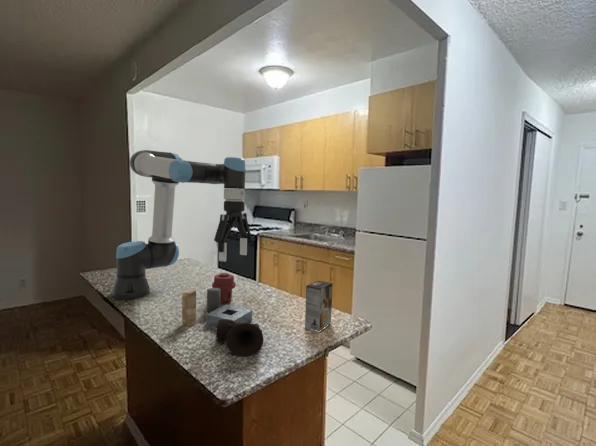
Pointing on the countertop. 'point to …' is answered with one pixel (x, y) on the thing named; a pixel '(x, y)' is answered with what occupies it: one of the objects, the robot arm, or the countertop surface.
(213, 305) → the gray capsule
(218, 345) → the countertop surface
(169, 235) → the robot arm
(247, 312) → the socket block
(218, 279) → the mechanical component
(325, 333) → the countertop surface
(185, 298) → the oak peg
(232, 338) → the pipe
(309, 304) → the coffee box
